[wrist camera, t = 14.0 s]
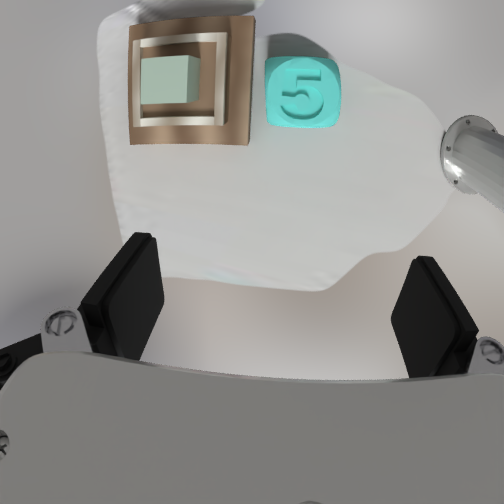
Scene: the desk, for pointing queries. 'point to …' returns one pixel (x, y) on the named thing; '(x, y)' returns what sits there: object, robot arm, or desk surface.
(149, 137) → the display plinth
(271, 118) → the decorative dice
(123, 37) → the desk surface
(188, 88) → the sage block
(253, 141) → the desk surface
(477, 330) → the robot arm
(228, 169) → the desk surface
